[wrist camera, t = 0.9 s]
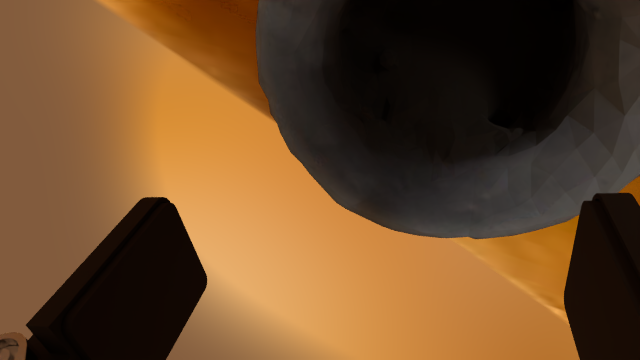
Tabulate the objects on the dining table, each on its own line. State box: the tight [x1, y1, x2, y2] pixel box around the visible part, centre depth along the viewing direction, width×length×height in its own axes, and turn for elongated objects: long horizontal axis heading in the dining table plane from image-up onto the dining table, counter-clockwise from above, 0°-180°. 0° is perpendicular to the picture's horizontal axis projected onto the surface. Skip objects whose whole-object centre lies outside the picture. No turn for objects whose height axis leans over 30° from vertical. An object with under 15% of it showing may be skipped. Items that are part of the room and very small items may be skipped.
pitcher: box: [256, 0, 640, 239], centre depth 23 cm, size 21×22×25 cm
